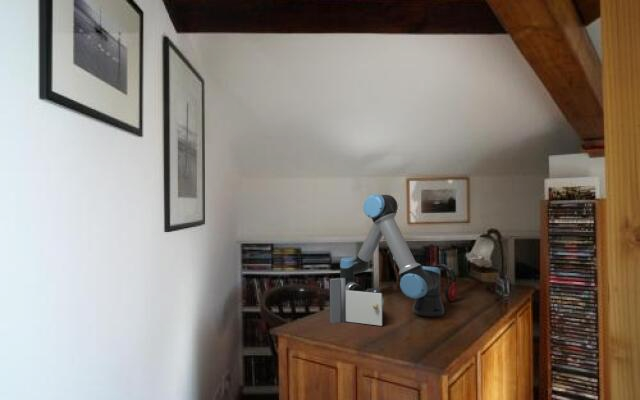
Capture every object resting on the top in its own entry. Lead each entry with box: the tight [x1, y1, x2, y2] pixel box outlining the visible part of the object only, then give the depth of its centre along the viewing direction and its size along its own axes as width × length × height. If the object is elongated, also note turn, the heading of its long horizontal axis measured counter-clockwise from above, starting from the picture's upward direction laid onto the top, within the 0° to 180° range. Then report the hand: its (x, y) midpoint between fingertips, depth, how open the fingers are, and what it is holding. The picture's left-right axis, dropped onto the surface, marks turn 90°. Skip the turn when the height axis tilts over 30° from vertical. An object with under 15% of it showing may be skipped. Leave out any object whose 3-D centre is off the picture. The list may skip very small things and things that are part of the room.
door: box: [345, 290, 383, 327], centre depth 166 cm, size 17×3×14 cm, turn 67°
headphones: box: [432, 263, 459, 302], centre depth 211 cm, size 18×10×20 cm, turn 38°
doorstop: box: [365, 287, 384, 301], centre depth 173 cm, size 9×9×18 cm
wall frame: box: [329, 277, 347, 325], centre depth 170 cm, size 7×3×20 cm, turn 110°
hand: (376, 302), depth 168 cm, fingers closed on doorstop, 6 cm apart
